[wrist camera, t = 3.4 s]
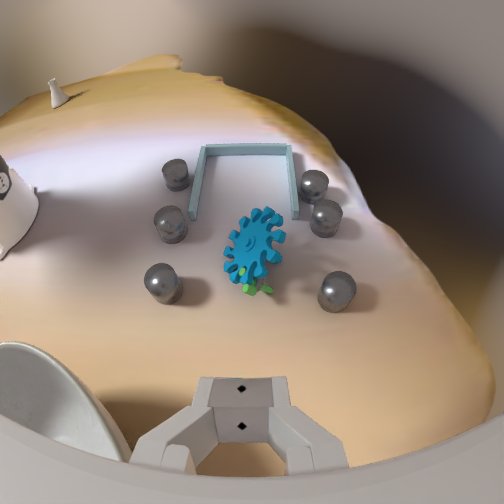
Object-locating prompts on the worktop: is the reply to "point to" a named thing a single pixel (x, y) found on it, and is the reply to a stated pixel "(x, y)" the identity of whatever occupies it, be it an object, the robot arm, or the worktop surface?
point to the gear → (254, 250)
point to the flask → (57, 94)
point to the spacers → (322, 224)
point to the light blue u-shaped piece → (243, 150)
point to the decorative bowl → (56, 402)
